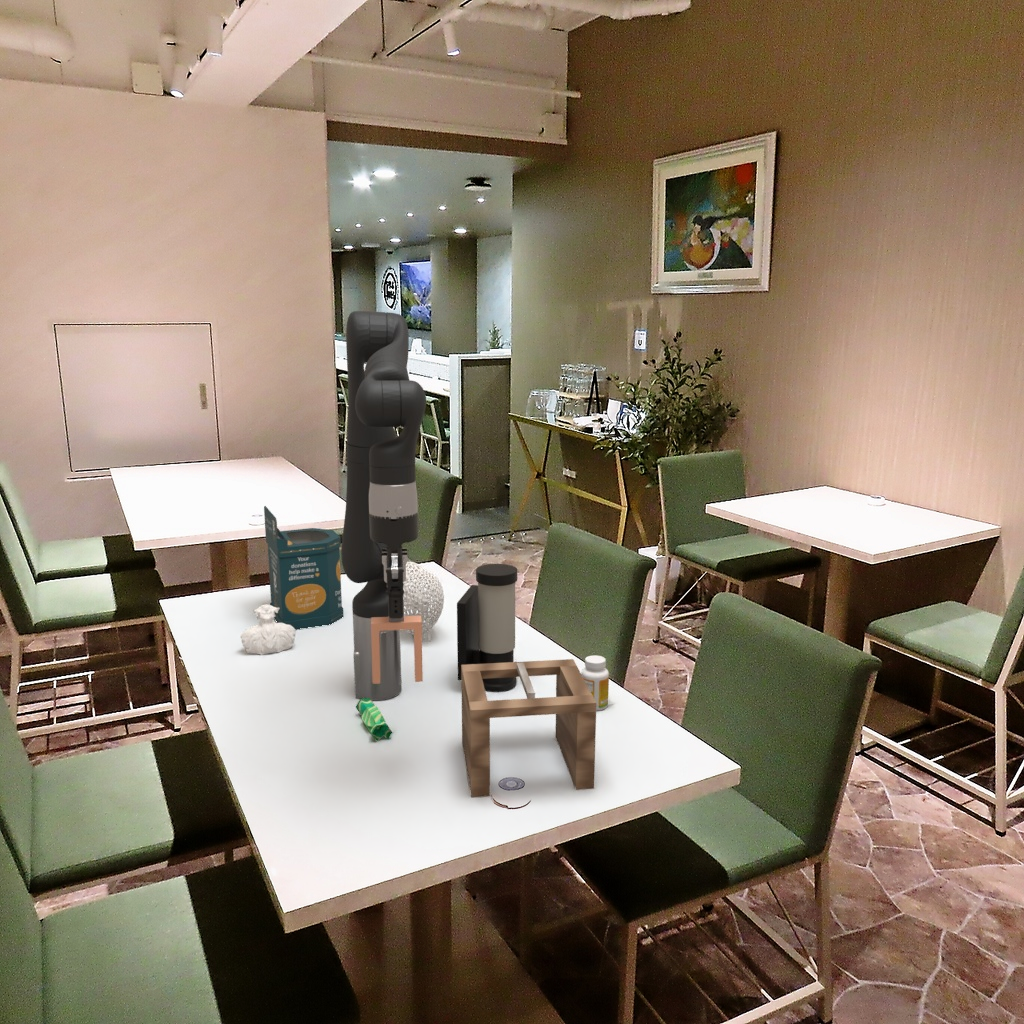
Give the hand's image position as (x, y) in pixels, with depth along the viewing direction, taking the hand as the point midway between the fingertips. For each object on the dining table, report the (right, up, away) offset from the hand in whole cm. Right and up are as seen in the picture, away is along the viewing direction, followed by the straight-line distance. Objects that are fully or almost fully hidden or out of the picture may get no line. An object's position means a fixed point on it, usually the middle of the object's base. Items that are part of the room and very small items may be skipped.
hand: (395, 614), depth 140 cm
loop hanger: (0, -11, +3) cm, 11 cm away
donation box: (-33, -10, +81) cm, 88 cm away
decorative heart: (-4, -13, +68) cm, 69 cm away
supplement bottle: (+35, -22, +32) cm, 52 cm away
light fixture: (+14, -19, +42) cm, 48 cm away
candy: (-7, -24, +23) cm, 34 cm away
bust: (-37, -15, +60) cm, 72 cm away
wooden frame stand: (+21, -27, +9) cm, 35 cm away
